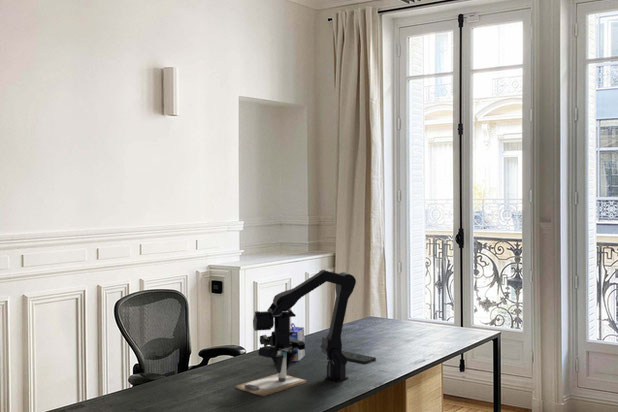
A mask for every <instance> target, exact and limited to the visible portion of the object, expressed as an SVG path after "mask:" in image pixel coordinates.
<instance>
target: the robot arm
mask: <svg viewBox="0 0 618 412" xmlns="http://www.w3.org/2000/svg"><path fill="white" fill-rule="evenodd" d="M326 283H331V284H335V286H334V287H335V289H334V290H335V295H336V296H335V302H334V305H333V311H332V315H331V320H330V326H329V332H328V334H327V336H322V338H321V344H320V346H319V347H320V348H321V353H322V354H323V356H325V357H326V360H327V365H326V376H325V377H324V380H329V381H333V382H336V383H339V382H341V381H344V380H347V379H349V377H348V376H346V375H347V374H346V373H347V372H346V371H347V369H346V368H347V363H348V359H347V358H346V357H345V356H344V355H343V354H342V351H343V344H342V332H343V328H344V323H345V322H344V321H345V316H346V312H347V308H348V307H347V305H348V302H349V298H350V297H351V296H352V294H353V292H354V290H355V287H356V284H357V280H356V278H355V276H354V275H352V274H350V273H347V272H345V271H343V272H339V273H337V272H334V271H330V270H329V271H328V270H326V269H321V270H319V271H318V272H317V273H314V275H312V276H311V277H310V278H307V279H306V280H305V281H303V282H301V283H300V284H298V285H296V286H295V287H293V288H291V289H288V290H284V291H281V292H280V293H277V294H276V295H274V297H273V300H272V303H271V305H270V306H269V307H268V309H267V310H266V311H259V310H255V311H254V315H253V319H252V327H253V331H255V332H256V331H257V332H258V331H271V330H272V329H274V330H273V331H272V332H271V335H269V336H267V334H263V335H260V336H259V343H260V345H263V346H262V347H259V348H258V356H259V357H264V358H271V360H272V362H273V365H274V366H275V370H276V372H277V373H276V374H278V373H280V371H281V367H282V362H283V356H284V355H281V352H287V363H286V372H288V370H289V368H290V365H291V363H292V362H293V361H292V360H293V358H294V356H295V354H296V353H297V351H295V349H294V348H296V347H297V348H298V349H299V350H303V349H305V350H306V344H305V343H304V342H303V341H300V340H295V339H294V340H290V335H292V334H293V332H290V329H291V325H290V324H291V318H292V317H293V318H295V317H296V316H297V315H296V314H295V313H294V311H292V307H294V306H295V305H296V304H297V303H298V301H299V300H301V299H302V298H303V297H305V296H306V295H308V294H309V293H311V292H313V291H314V290H316V289H317V288H318V287H320V286H322V285H323V284H326Z"/></svg>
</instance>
